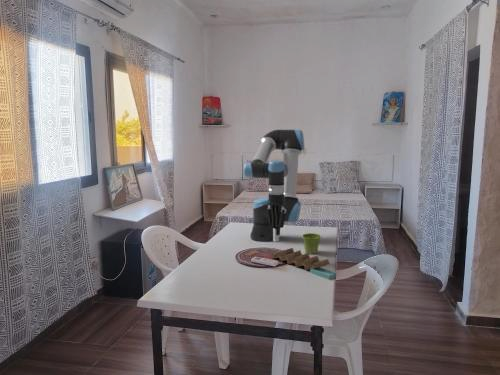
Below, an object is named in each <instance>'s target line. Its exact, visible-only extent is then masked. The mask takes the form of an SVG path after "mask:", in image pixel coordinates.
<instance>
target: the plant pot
mask: <svg viewBox="0 0 500 375" xmlns="http://www.w3.org/2000/svg"><path fill="white" fill-rule="evenodd" d="M301 238H302V239H303V244H304V245H303V246H304V252H305V254H306V253H309V255H313V254H317V253H318V252H319V251H318V250H319V244H320V241H321V238H322V236H321V235H320V234H318V233H304V234H302V235H301Z"/></svg>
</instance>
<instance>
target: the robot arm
mask: <svg viewBox="0 0 500 375" xmlns="http://www.w3.org/2000/svg"><path fill="white" fill-rule="evenodd" d="M304 137H305V136H304V132H303V131H302V130H301V129H274V130H271V131H269V132H268V133H266V134H264V136H263V137H262V138H261V140H260V141H259V147H258V149H257V151H256V153H255V155H254V157H253V159H252V160H251V161H250V162H246V163H244V165H243V175H244V177H245V178H250V179H268V197H266V196H265V197H261V198H257V199H254V201H253V205H252V206H253V207H252V209H253V210H252V211H253V212H252V214H253V217H252V218H253V225H252V229H251V232H250V237H249V238H250V239H251V240H252V241H256V242H270V241H271V242H272V241H273V242H275V243H276V242H278V241H279V242H280V235H281V229H282V228H284V225H285V222H287V223H292V222H293V223H296V222H297V221H298V220H299V218H300V214H301V208H302V207H301V206H302V203H301V201H300V200H299V197H298V196H297V188H298V187H297V183H298V170H299V168H298V167H299V156H300V155H301V154H302V150H303V151H304V150H305V138H304ZM275 150H281V153H282V155H283V161H282V160H271V161H269V159H270V157H271V154H272V153H273V152H274V151H275ZM268 161H269V162H268Z"/></svg>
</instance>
